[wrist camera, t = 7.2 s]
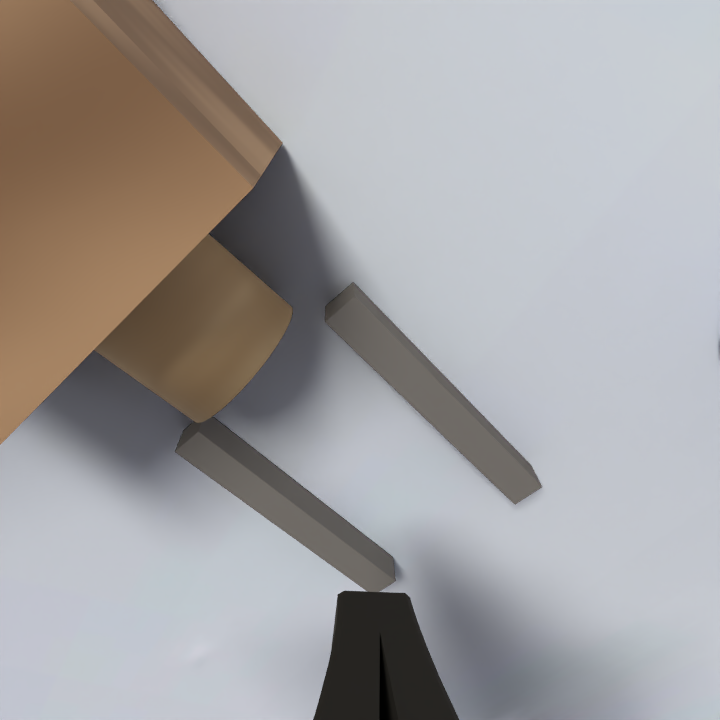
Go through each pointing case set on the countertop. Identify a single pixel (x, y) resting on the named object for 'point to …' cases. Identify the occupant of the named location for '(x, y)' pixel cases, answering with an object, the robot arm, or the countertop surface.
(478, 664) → the countertop surface
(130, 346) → the oak dowel
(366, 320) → the guide rails
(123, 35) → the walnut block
